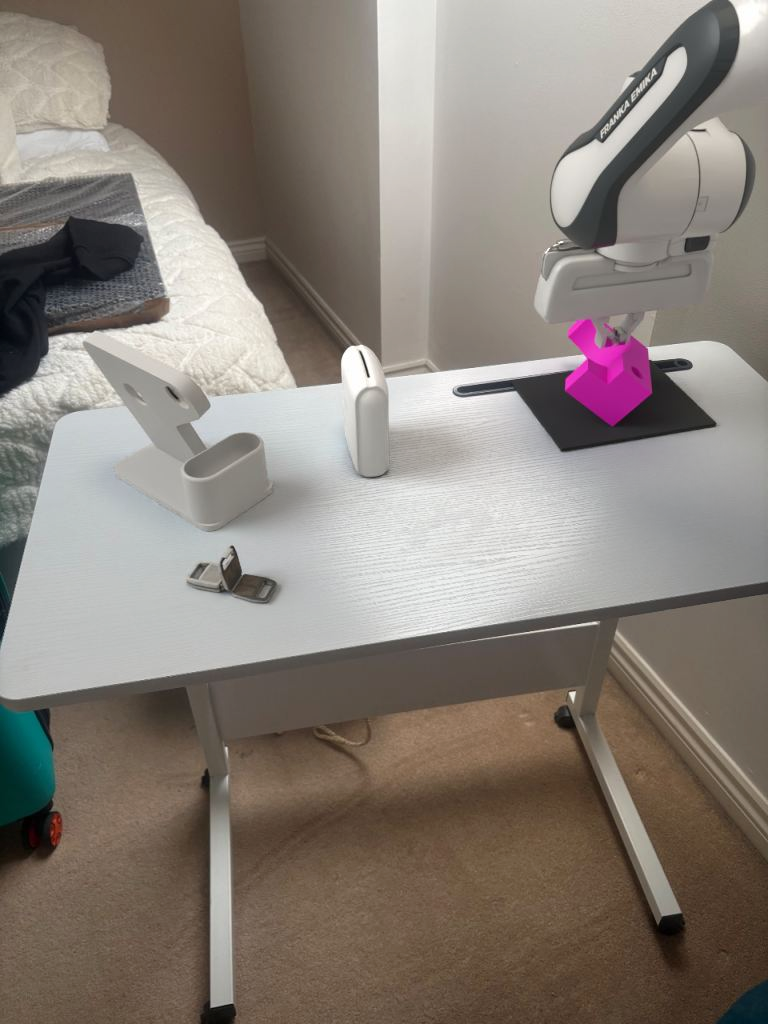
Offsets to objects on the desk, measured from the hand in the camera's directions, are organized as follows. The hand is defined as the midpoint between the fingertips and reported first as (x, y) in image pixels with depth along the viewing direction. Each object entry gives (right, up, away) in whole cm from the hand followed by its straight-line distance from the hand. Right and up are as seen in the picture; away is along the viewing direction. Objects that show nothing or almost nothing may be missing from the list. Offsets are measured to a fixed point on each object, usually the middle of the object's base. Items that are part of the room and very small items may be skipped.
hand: (611, 344), depth 99 cm
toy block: (+3, -4, +3) cm, 6 cm away
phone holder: (-48, -17, -7) cm, 52 cm away
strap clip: (-42, -27, -20) cm, 54 cm away
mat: (+1, -7, +5) cm, 8 cm away
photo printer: (-29, -13, -3) cm, 32 cm away
